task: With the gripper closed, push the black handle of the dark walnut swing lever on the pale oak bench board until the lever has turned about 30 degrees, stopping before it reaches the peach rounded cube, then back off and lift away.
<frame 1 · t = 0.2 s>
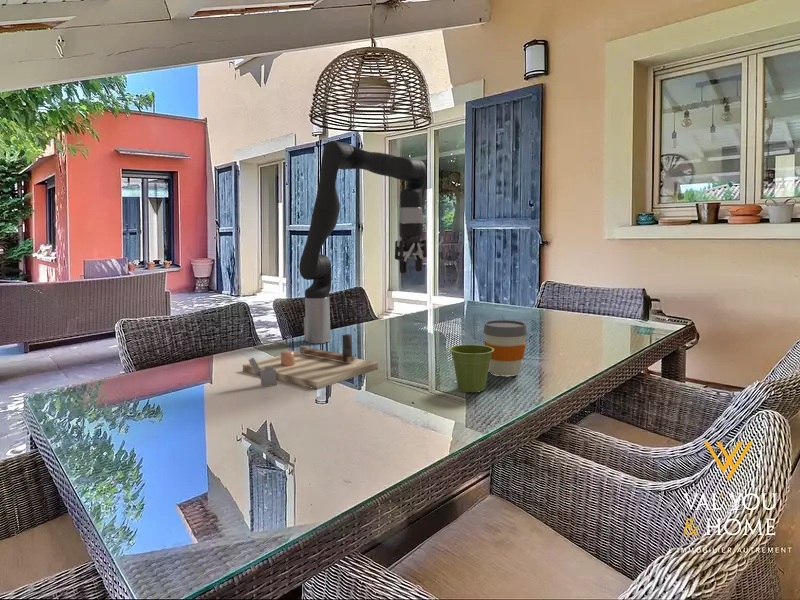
hand: (411, 272, 175), 29 cm above the table, fingers open, 8 cm apart
reusable coffee cup: (504, 373, 160), on the table
plant pot: (471, 390, 144), on the table
lever: (325, 344, 170), point 7 cm above the table, hinge at 0.0°
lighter: (263, 386, 149), on the table
bench board: (310, 370, 165), on the table
peach rounded cube: (288, 371, 164), resting on bench board
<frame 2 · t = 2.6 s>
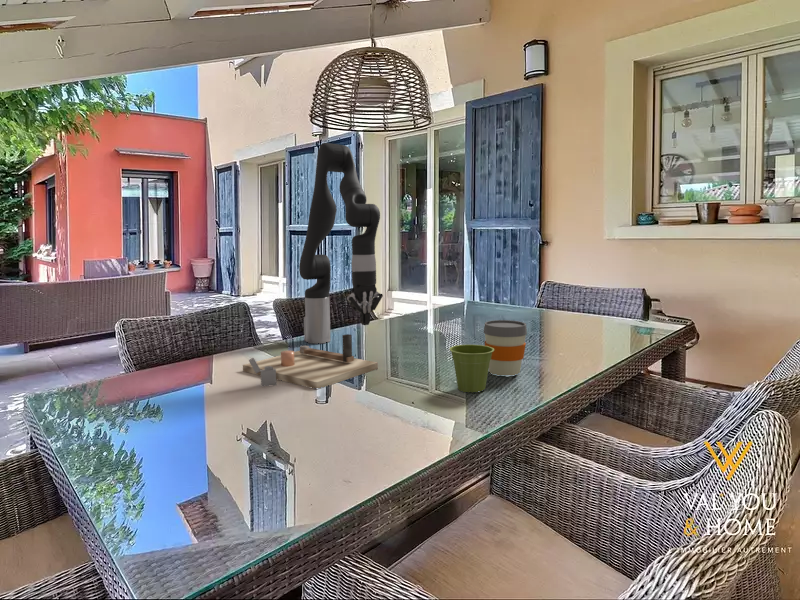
hand: (365, 324, 168), 13 cm above the table, fingers closed
nothing on the table moved.
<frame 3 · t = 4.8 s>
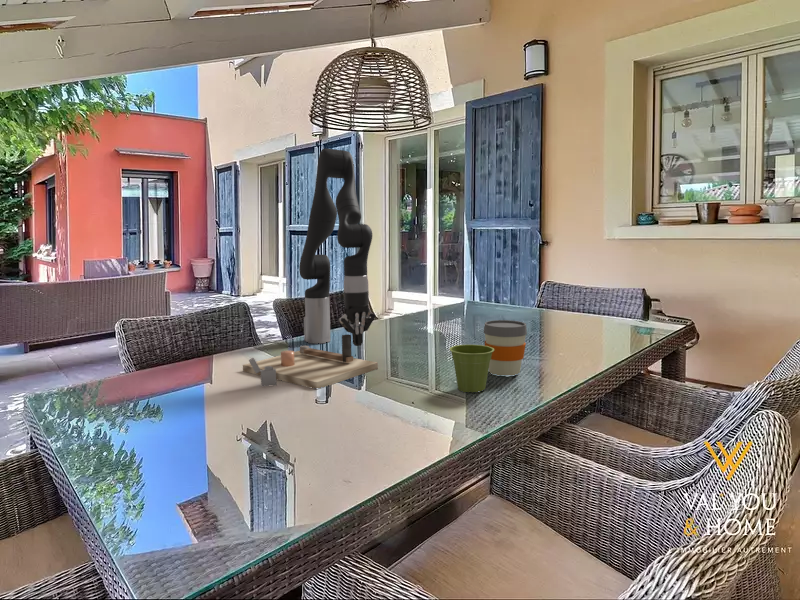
hand: (357, 345, 167), 7 cm above the table, fingers closed
lever: (324, 344, 170), point 7 cm above the table, hinge at 0.8°, touching gripper
everything else where it was.
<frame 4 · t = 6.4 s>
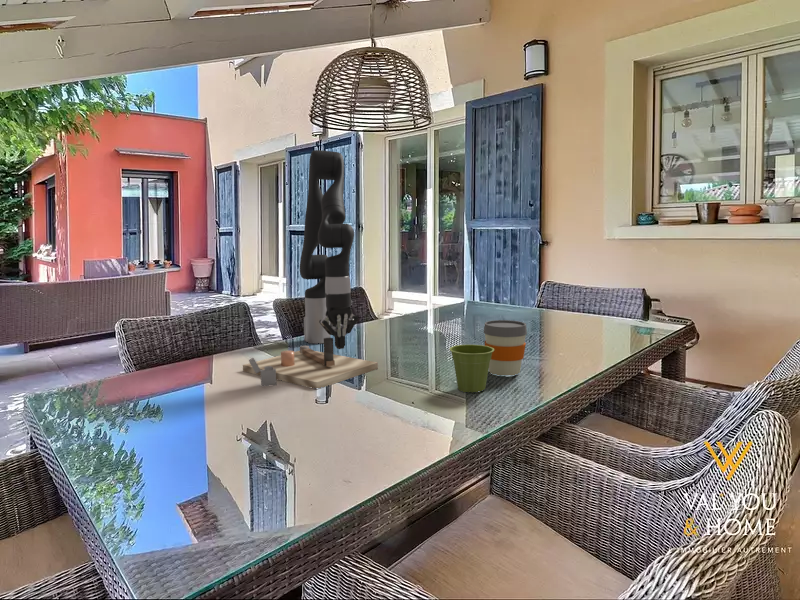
hand: (340, 348, 162), 7 cm above the table, fingers closed
lever: (315, 346, 168), point 7 cm above the table, hinge at 21.1°, touching gripper
everything else where it was.
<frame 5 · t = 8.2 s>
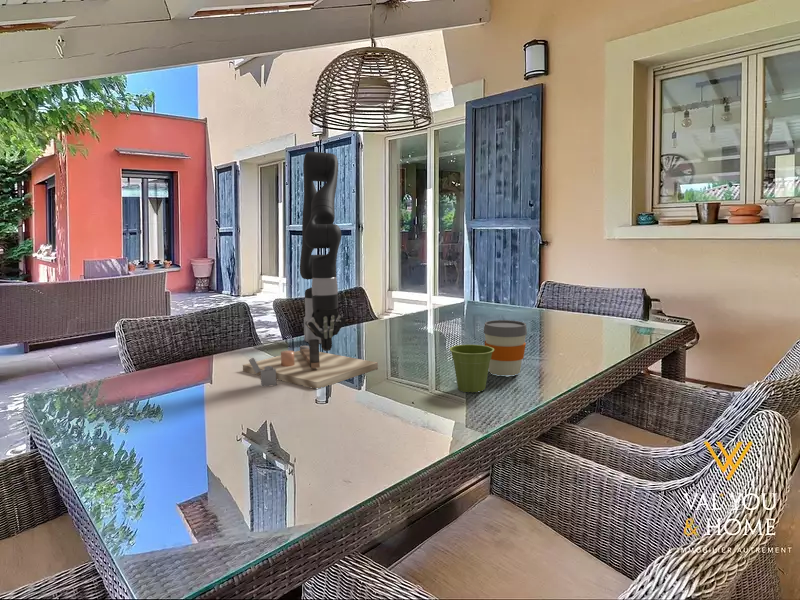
hand: (326, 350, 160), 7 cm above the table, fingers closed
lever: (309, 346, 167), point 7 cm above the table, hinge at 34.3°, touching gripper
everything else where it was.
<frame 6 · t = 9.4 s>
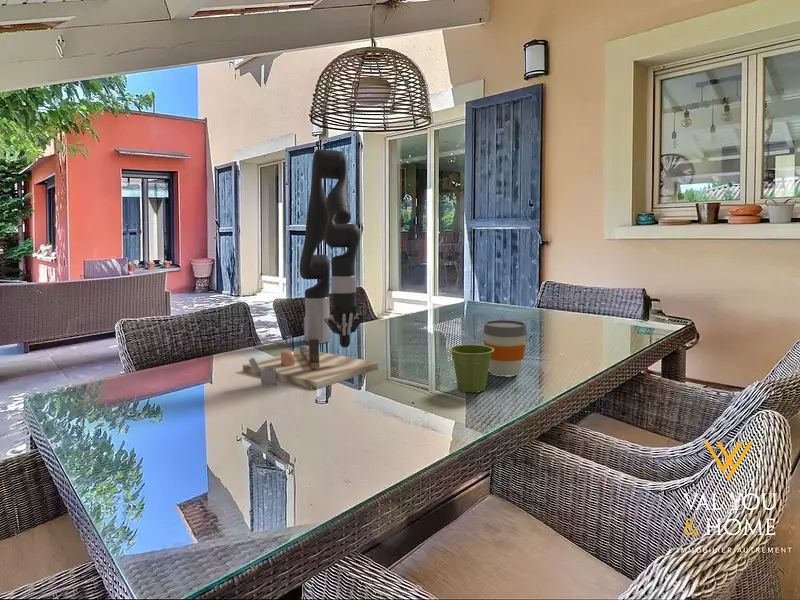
hand: (344, 346, 164), 7 cm above the table, fingers closed
lever: (308, 346, 167), point 7 cm above the table, hinge at 34.5°
everything else where it was.
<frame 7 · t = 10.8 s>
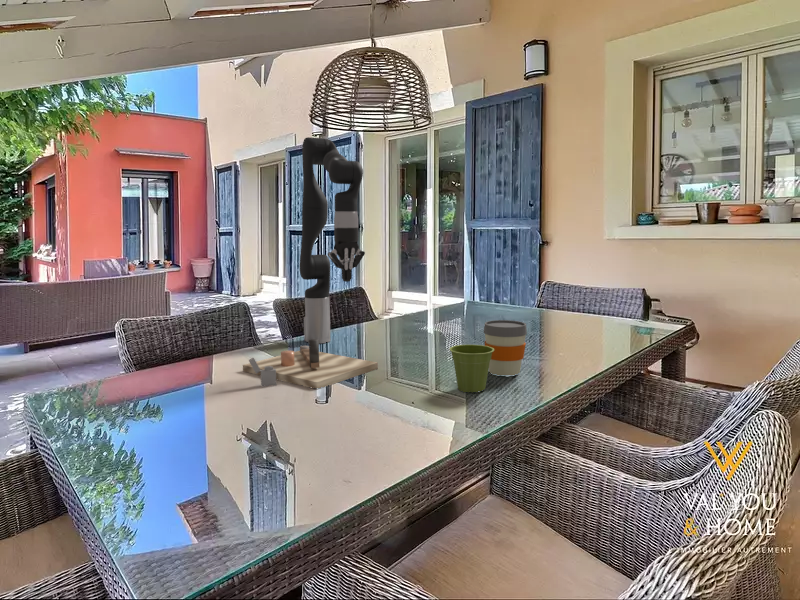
hand: (346, 281, 171), 26 cm above the table, fingers closed
nothing on the table moved.
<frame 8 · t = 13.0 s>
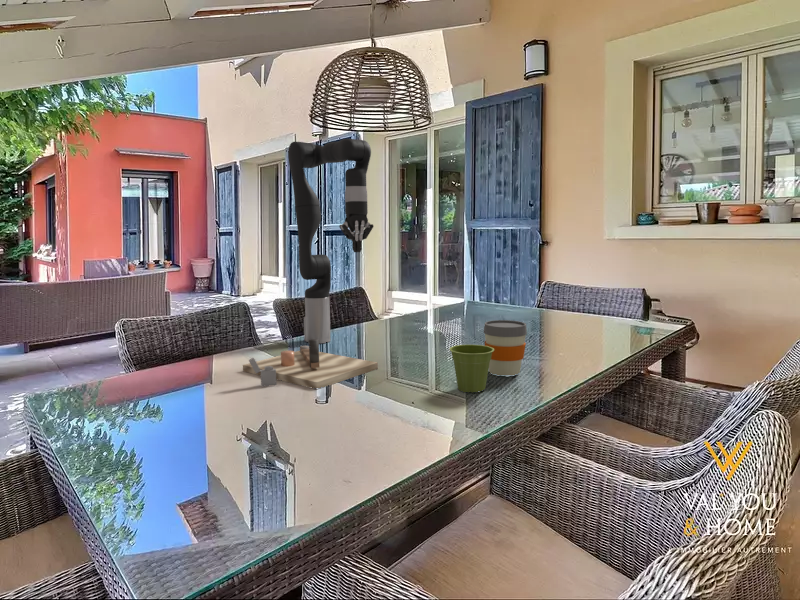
hand: (357, 252, 183), 35 cm above the table, fingers closed
nothing on the table moved.
at the end: lever at +34° (first picture: +0°); lever touching nothing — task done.
